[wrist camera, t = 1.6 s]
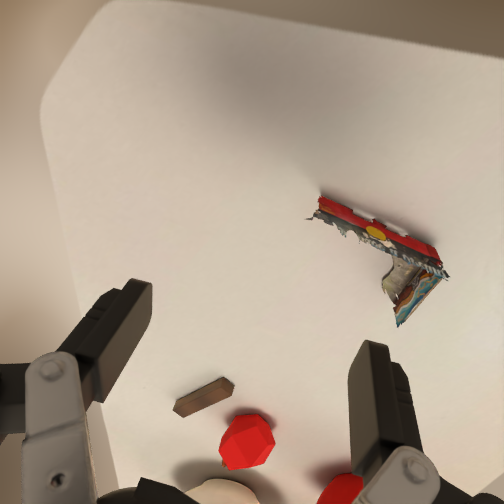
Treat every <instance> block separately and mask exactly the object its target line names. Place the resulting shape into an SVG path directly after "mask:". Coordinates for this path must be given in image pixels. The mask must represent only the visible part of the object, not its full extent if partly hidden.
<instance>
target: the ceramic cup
mask: <svg viewBox="0 0 504 504" xmlns="http://www.w3.org/2000/svg"><path fill="white" fill-rule="evenodd" d="M362 489H363V477H360V476H357V475H353V474H352V473H345V474H340V475H338V476H336V477H335V478H334V479H333V481H332V482H331V483H330V484H329V485H328V486H327V487H326V488H325V489H324V491H323V492H322V494H321V496H320V497H319V499H318V501H317V504H351V503H352V502H353V501H354V499H355V498H356V497H357V495H358V494H359V493H360V492H361V490H362Z"/></svg>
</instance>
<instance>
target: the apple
mask: <svg viewBox="0 0 504 504" xmlns="http://www.w3.org/2000/svg"><path fill="white" fill-rule="evenodd" d="M275 444H276V443H275V440H274V437H273V435H272V432H271V429H270V426H269V424H268V423H267V422H266V421H265V420H263V419H262V418H261V417H260V416H259V415H258V414H252V415H239V416H236V417H235V418H234V420H233V421H232V423H231V424H230V426H229V427H228V429H227V430H226V432H225V434H224V435H223V437H222V439H221V443H220V446H219V450H218V451H219V453H220V455H221V457H222V458H223V461H222V466H223V467H225V466H227V467H228V469H229V470H235V469H243V468H251V467H254V466H257V465H260V464H264V462H265V461H266V459H267V457H268V456H269V454H270V452H271V451H272V449H273V447H274V446H275Z"/></svg>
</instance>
